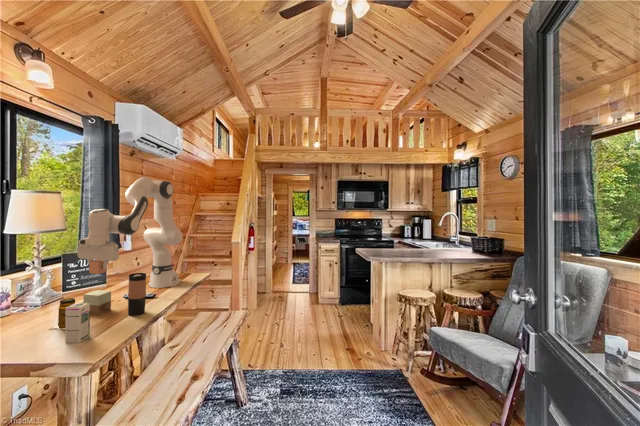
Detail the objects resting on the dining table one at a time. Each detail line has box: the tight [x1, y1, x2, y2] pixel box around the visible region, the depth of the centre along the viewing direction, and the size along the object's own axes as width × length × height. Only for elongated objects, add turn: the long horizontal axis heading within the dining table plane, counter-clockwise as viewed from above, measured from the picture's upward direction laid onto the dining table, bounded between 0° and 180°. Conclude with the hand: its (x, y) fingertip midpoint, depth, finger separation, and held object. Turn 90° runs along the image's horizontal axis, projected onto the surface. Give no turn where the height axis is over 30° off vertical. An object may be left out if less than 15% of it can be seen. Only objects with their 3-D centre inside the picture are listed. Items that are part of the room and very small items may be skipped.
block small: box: [88, 260, 108, 275], centre depth 153 cm, size 5×5×6 cm
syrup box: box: [64, 302, 91, 344], centre depth 123 cm, size 6×6×14 cm
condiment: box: [49, 297, 76, 330], centre depth 135 cm, size 7×8×12 cm
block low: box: [90, 300, 112, 316], centre depth 154 cm, size 8×8×5 cm
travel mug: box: [127, 272, 147, 317], centre depth 153 cm, size 8×8×20 cm
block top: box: [82, 289, 112, 306], centre depth 153 cm, size 8×8×5 cm
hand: (98, 268), depth 153 cm, fingers closed on block small, 5 cm apart
